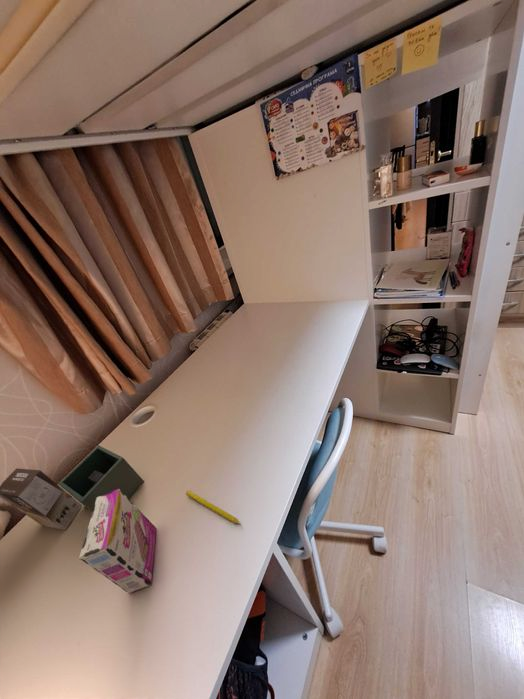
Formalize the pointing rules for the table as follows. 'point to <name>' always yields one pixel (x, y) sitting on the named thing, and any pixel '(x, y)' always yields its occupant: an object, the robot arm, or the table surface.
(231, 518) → the pencil
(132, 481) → the box
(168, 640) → the table surface
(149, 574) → the candy bar box
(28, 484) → the coffee box
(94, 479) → the ink cartridge
